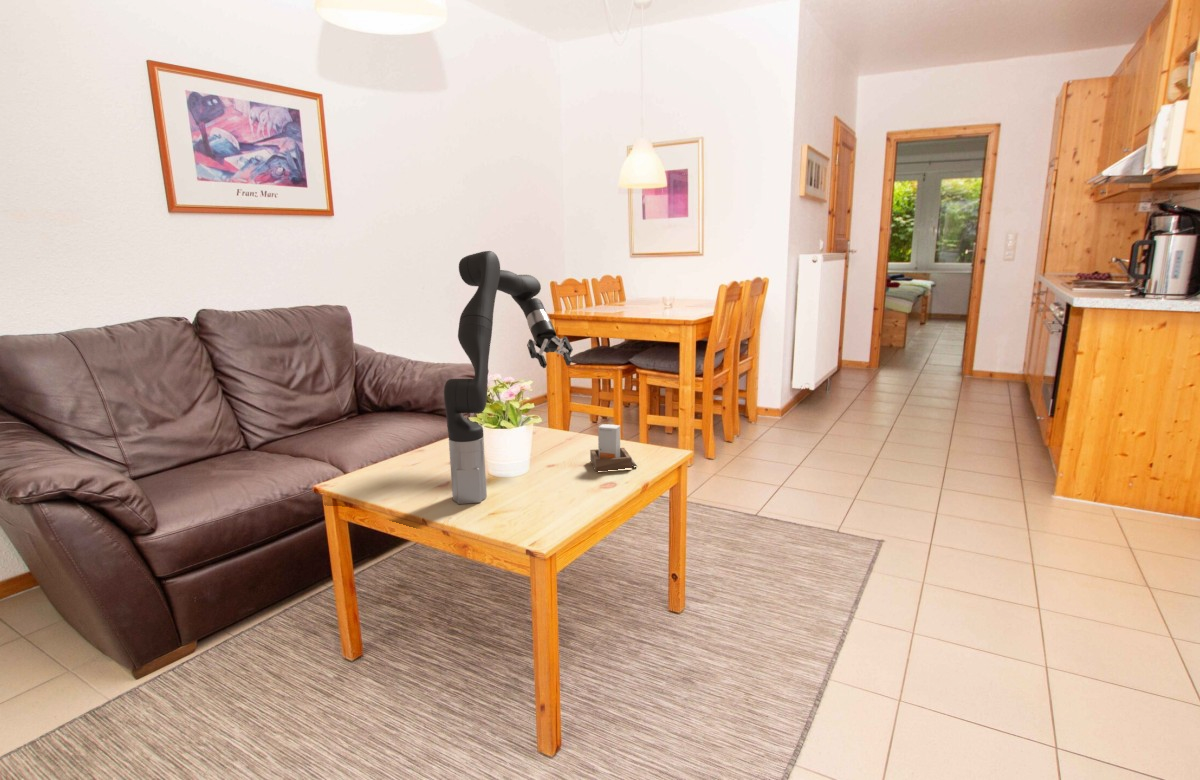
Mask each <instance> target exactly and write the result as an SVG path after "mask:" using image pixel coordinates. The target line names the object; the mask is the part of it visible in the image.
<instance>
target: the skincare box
mask: <svg viewBox="0 0 1200 780" xmlns="http://www.w3.org/2000/svg"><path fill="white" fill-rule="evenodd" d="M597 429H598V430H597V431H598V432H597V433H598V436H597V437H598V438H597V439H598V447H597V449H598V456H599V459H605V458H619V457H620V448H621V425H620V424H618V425H617V424H608V423H607V424H605V423H602V424H600V425H599V426H598V428H597Z"/></svg>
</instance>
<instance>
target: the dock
mask: <svg viewBox="0 0 1200 780" xmlns="http://www.w3.org/2000/svg"><path fill="white" fill-rule="evenodd" d="M589 451H590V457H589V458H590V460H591V461H590V463H591V462H592V464H593V466H594V467H593V466H592V467H593V469H594V468H595V469H594V471H595V470H596V471H595V473H596V472H598V471H608V470H618V469H625V468H632V467H633V466H637V467H638V465H637V464H636V462H635V461H634V460H633V458H632V456H631V455H630V454H629V453H628V451H627V450H626V448H625V447H620V457H619V458H605V459H599V456H598V448H596V449H590V450H589ZM592 464H591V465H592ZM632 465H633V466H632Z"/></svg>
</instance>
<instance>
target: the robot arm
mask: <svg viewBox="0 0 1200 780" xmlns="http://www.w3.org/2000/svg"><path fill="white" fill-rule="evenodd" d="M458 272H459V275H460V278H461V279H462V281H463V282H464V283H465V284H466V285H468V286H470V287H477V290H475V293H474V294H473V296H472V297H471V299H470V300H469V301H468V303H466V305H465V307H464V309H463V310H462V312H461V313H460V318H459V323H458V330H457V339H458V342H459V344H460V346H461V348H462V349H463V351H464V353H465V354H466V356H467V357H468V359H469V361H470V363H471V365H472V367H473V370H474V377H473V378H449V379H447V380H446V381H445V384H444V389H443V401H444V410H445V415H446V428H447V434H448V446H449V465H450V466H449V467H450V478H451V491H452V493H451V495H452V500H453V502H456V503H457V505H464V504H465V505H466V504H475V503H482V501H484V500H485V499H486V498H487V495H488V494H487V493H488V492H487V476H486V475H487V473H486V458H485V456H486V455H485V440H484V439H485V438H484V428H483V426H482V425H481V424H479V423H477V422H474V421H472V420H470V419H467V418H466V417H465V416H463V414H479V413H483V412H484V411H485V409H486V406H487V401H488V386H489V385H488V383H489V380H488V379H489V376H488V375H489V359H490V357H489V356H490V349H491V343H492V342H491V341H492V334H493V332H492V331H493V322H494V312H495V311H494V309H495V301H496V297H497V293H498V291H499V292H502V293H505V294H507V295H509V296H511V298H512V299H513V301H515V303H516V304H517V305H518V306H519V308H520V309H521V310H522V312H523V314H524V317H525V318H526V322H527V325H528V329H529V330H530V332H531V336H532V338H533V339H532V338H530V339H529V340H528V342H527V344H526V346H527V350H528V354H529V356H530V358H531V359H537V360H538V363H539V366H540V367H541V368H542V369H545V368H547V361H546V359H545V356H544V355H543V354H544V353H547V354H548V353H556V354H558V355H561V356H562V357H563V360H564V362H565V365H566V366H567V367H568V366H570V365H571V363H572V358H571V356H570V355H572V352H573V350H574V349H573V347H572V345H571V343H570V341H569V339H568V337H567V336H564V337H563V338H559V337H558V336H557V332H556V330H555V327H554V325H553V322H552V319H550V316H549V314H548V313H547V311H546V308H545V306H544V304H543V302H542V300H541V299H539V298H536V296H538V294H539V293H540V292H541V289H542V288H541V286H542V285H541V283H540V281H539V280H538V279H537V278H536V277H535V276H534V275H531V274H517V273H515V272H513V271H509V270H506V269H504V270H503V269H501V263H500V259H499V257H498V255H497V254H496V253H495V252H494V251H491V250H485V251H479V252H475V253H472V254H469V255H466V256H464V257H462V258H461V259H460V261H459V263H458ZM536 347H537V348H538V349H539V351H538V352H537V350H536Z"/></svg>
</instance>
